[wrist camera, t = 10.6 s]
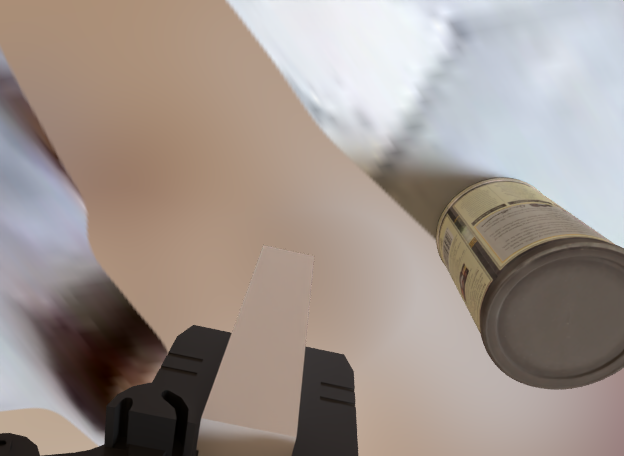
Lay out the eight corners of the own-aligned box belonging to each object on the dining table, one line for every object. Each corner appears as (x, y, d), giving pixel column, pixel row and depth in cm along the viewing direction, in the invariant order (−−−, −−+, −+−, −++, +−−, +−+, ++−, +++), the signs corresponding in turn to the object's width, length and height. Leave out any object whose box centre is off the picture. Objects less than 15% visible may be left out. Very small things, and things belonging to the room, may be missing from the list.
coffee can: (571, 254, 41) (682, 352, 28) (462, 300, 43) (517, 412, 30) (531, 154, 38) (635, 212, 25) (416, 210, 40) (455, 290, 27)
